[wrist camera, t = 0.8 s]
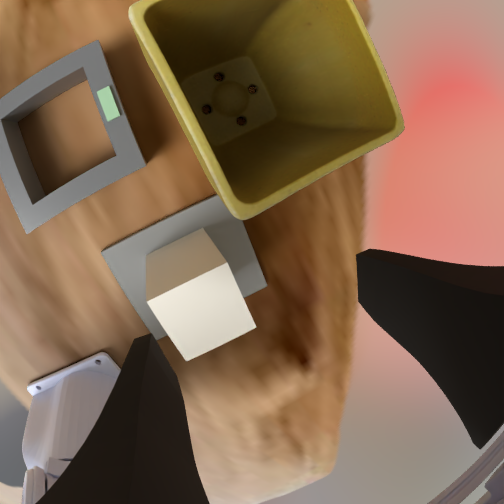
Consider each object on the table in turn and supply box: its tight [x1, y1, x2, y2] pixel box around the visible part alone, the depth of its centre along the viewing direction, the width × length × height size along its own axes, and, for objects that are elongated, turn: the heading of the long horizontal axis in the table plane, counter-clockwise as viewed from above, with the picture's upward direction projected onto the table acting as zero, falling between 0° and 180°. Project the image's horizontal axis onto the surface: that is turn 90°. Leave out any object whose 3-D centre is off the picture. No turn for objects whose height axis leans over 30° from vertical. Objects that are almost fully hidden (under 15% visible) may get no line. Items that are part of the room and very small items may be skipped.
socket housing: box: [0, 40, 147, 234], centre depth 13 cm, size 8×8×3 cm
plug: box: [146, 228, 256, 361], centre depth 16 cm, size 4×4×6 cm
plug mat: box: [101, 194, 267, 340], centre depth 19 cm, size 9×8×1 cm
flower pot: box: [128, 0, 405, 220], centre depth 12 cm, size 9×9×9 cm
